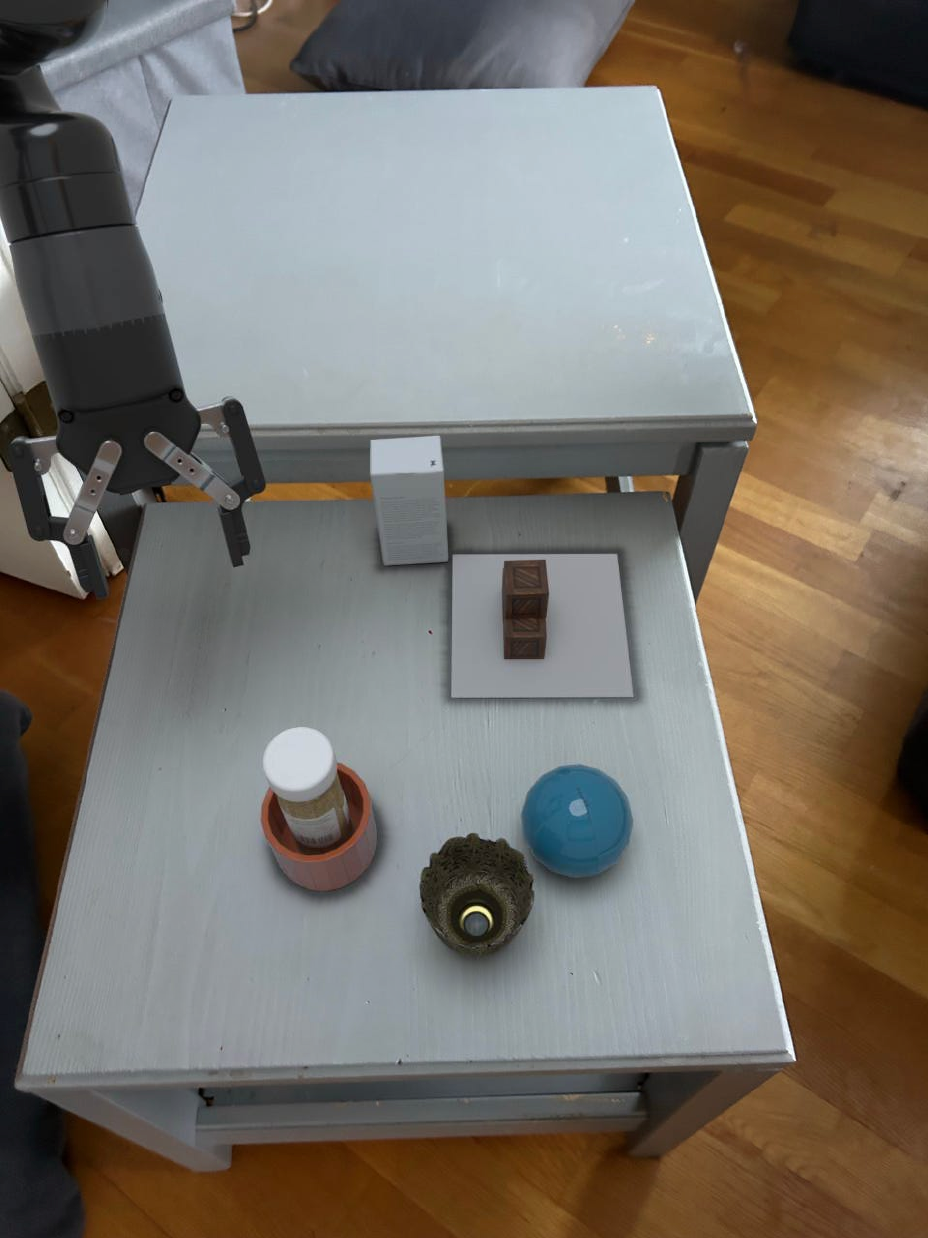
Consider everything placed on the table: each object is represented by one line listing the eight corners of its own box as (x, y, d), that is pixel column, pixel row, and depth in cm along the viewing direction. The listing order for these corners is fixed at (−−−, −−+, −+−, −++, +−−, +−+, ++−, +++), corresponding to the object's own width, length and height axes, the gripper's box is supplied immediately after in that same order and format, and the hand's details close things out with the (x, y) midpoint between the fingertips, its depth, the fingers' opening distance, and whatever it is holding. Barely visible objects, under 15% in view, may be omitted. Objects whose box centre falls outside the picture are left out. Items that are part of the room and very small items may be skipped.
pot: (292, 907, 68) (278, 878, 63) (264, 815, 72) (248, 782, 67) (391, 868, 70) (385, 837, 65) (358, 780, 74) (350, 745, 69)
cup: (412, 963, 66) (405, 929, 59) (438, 863, 70) (435, 821, 63) (516, 990, 65) (521, 958, 58) (537, 887, 69) (544, 846, 62)
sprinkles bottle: (363, 816, 71) (344, 733, 60) (343, 873, 69) (319, 797, 58) (307, 802, 72) (277, 717, 61) (285, 857, 70) (249, 780, 59)
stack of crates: (633, 697, 78) (646, 652, 72) (451, 697, 78) (449, 653, 72) (617, 554, 86) (627, 504, 81) (452, 554, 86) (451, 504, 81)
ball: (601, 779, 74) (613, 731, 67) (642, 875, 69) (660, 833, 63) (503, 808, 72) (506, 762, 66) (539, 908, 68) (547, 869, 61)
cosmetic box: (446, 527, 88) (442, 433, 78) (448, 563, 86) (445, 471, 76) (381, 530, 88) (369, 437, 78) (381, 567, 86) (369, 475, 76)
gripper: (-44, 343, 50) (52, 625, 56) (226, 297, 53) (289, 568, 59) (-23, 337, 56) (60, 590, 62) (215, 297, 60) (273, 540, 66)
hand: (171, 579), depth 61 cm, fingers open, 8 cm apart
